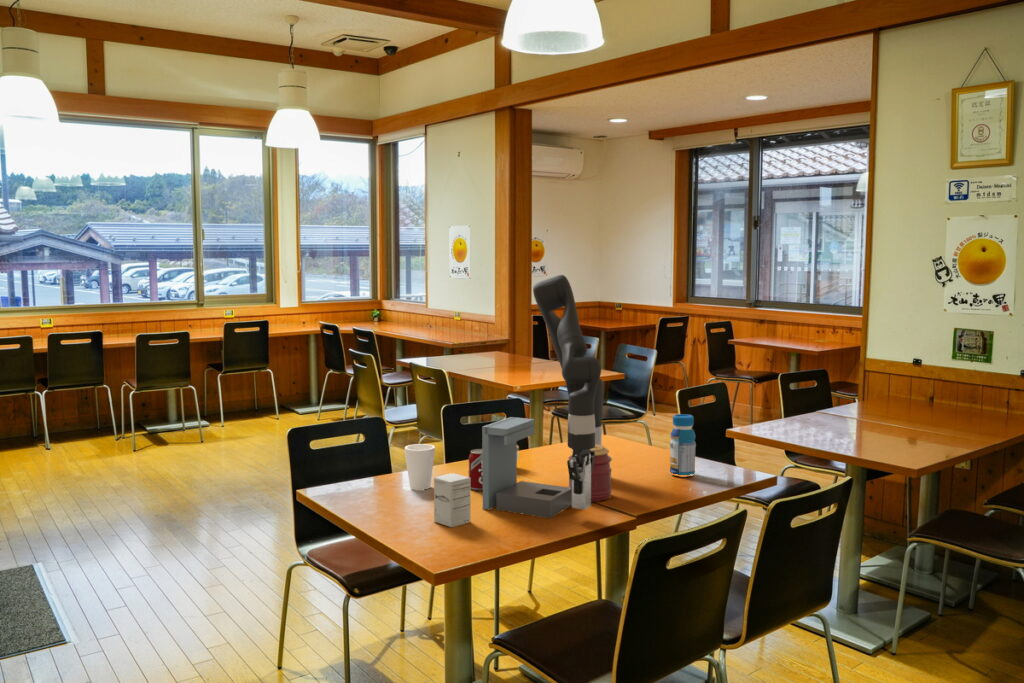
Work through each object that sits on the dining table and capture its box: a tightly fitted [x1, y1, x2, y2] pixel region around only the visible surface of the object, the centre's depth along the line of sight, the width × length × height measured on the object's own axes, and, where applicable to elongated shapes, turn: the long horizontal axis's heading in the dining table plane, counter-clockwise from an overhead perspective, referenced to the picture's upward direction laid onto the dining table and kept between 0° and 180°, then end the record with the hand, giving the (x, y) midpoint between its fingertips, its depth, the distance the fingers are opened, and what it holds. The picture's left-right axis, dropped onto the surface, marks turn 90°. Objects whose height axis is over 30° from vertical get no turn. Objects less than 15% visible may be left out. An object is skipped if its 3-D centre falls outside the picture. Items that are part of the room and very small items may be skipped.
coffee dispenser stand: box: [481, 416, 535, 510], centre depth 245 cm, size 17×8×24 cm, turn 151°
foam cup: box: [404, 443, 436, 491], centre depth 263 cm, size 10×9×13 cm
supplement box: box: [433, 472, 472, 528], centre depth 228 cm, size 7×7×13 cm
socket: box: [495, 480, 572, 519], centre depth 242 cm, size 15×17×5 cm
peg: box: [571, 463, 592, 510], centre depth 229 cm, size 4×4×12 cm
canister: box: [568, 444, 613, 503], centre depth 252 cm, size 13×13×18 cm
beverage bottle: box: [669, 413, 697, 475], centre depth 277 cm, size 8×8×20 cm
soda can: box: [468, 448, 483, 491], centre depth 262 cm, size 7×7×12 cm
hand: (581, 491), depth 229 cm, fingers closed on peg, 4 cm apart
